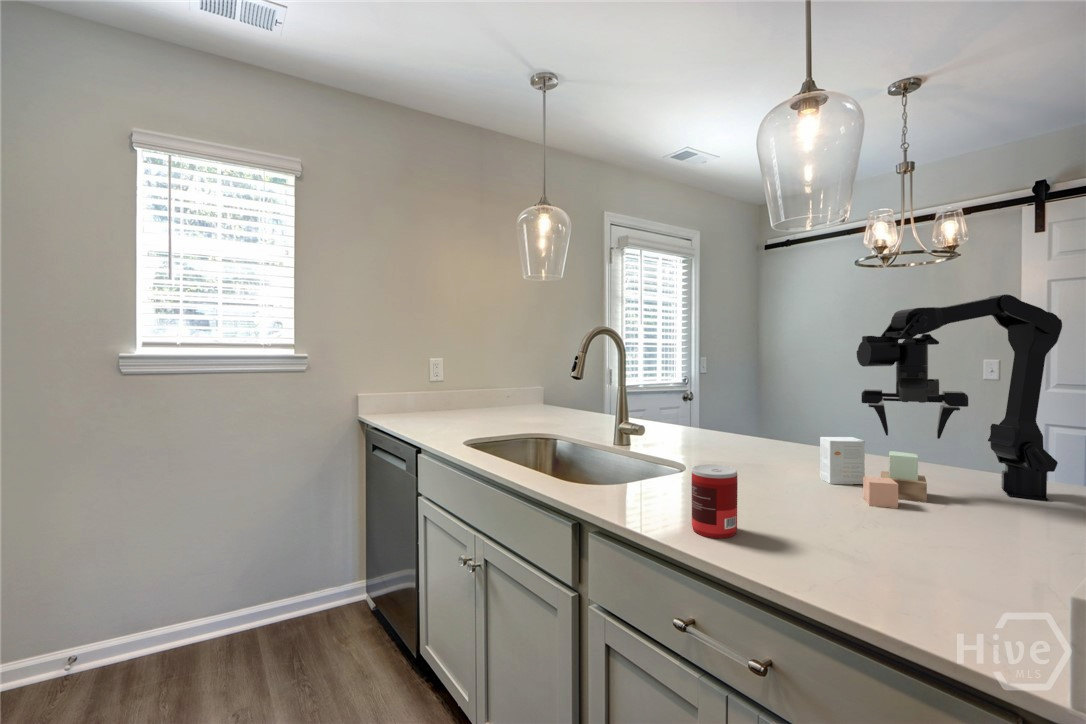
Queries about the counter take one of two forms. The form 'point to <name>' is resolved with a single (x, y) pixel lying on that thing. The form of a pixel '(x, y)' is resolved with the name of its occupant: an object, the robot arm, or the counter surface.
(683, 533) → the counter surface
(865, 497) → the terracotta cube
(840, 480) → the small box
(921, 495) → the walnut block
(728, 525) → the canned food
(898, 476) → the sage cube
